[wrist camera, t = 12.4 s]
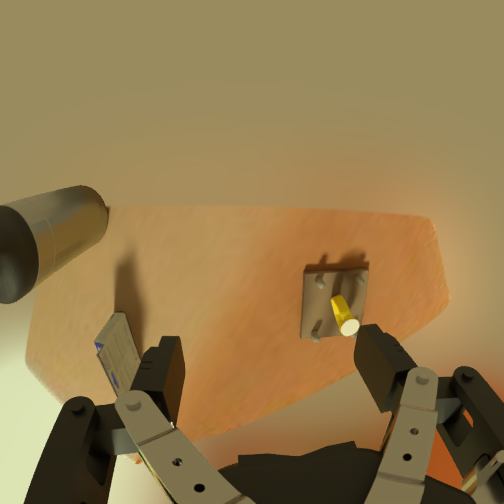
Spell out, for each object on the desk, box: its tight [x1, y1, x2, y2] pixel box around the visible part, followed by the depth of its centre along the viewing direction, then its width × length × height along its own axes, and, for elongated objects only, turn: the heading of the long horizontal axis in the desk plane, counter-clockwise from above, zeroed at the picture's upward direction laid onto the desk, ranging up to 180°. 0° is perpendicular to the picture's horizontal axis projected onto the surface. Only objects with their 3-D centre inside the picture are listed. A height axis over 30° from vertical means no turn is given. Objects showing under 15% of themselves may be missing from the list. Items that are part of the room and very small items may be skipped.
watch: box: [331, 295, 359, 337], centre depth 40 cm, size 6×3×6 cm, turn 20°
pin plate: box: [300, 268, 369, 343], centre depth 42 cm, size 10×11×3 cm
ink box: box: [94, 312, 141, 398], centre depth 38 cm, size 12×2×12 cm, turn 5°
